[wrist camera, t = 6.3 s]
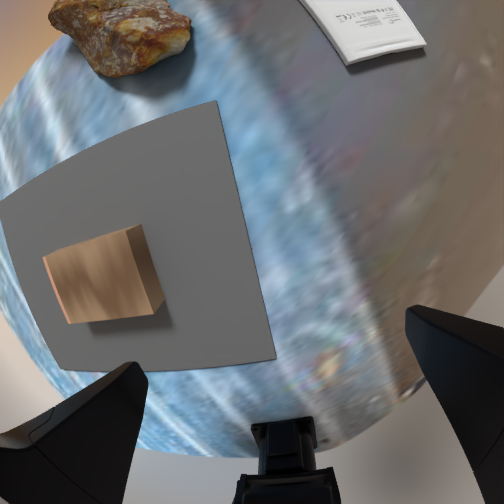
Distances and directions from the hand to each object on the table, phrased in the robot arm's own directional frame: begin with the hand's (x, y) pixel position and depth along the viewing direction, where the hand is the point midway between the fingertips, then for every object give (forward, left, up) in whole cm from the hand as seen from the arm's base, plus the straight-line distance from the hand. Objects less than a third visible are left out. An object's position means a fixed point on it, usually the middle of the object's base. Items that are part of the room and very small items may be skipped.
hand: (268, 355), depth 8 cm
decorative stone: (+21, +7, -12) cm, 25 cm away
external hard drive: (+19, -11, -13) cm, 25 cm away
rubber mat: (+1, +14, -12) cm, 18 cm away
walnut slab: (+1, +8, -10) cm, 13 cm away
